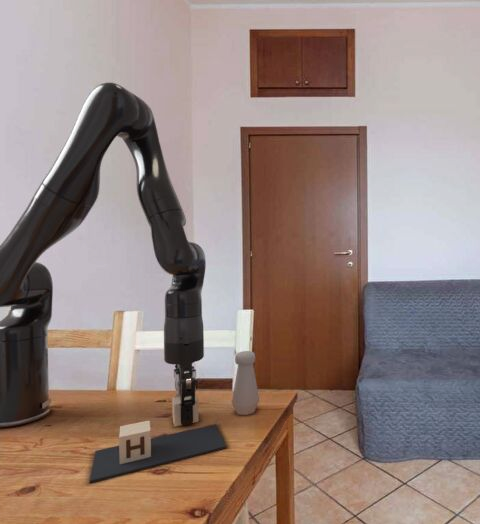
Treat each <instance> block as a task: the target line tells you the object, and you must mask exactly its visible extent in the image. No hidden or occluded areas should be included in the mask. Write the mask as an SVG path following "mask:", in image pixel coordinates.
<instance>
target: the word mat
mask: <svg viewBox="0 0 480 524" xmlns="http://www.w3.org/2000/svg"><path fill="white" fill-rule="evenodd" d="M223 449H227V445H226V442H225V440H224V438H223V435H222V434H221V432H220V430H219V428H218V426H217V423H215V424H210V425H206V426H205V425H204V426H201V427H197V428H192V429H188V430H183V431H179V432H175V433H170V434H165V435H160V436H156V437H151V457H148V458H144V459H140V460H136V461H132V462H128V463H124V464H120V455H119V445H116V446H111V447H107V448H102V449H98V450H97V449H96V450H95V452H94V457H93V461H92V466H91V471H90V475H89V480H88V481H89V482H88V483H89V484H92V483H96V482H99V481H100V482H101V481H103V480H107V479H111V478H115V477H119V476H123V475H127V474H130V473H135V472H139V471H142V470H146V469H151V468H154V467H158V466H162V465H166V464H170V463H173V462H177V461H181V460H185V459H189V458H193V457H198V456H201V455H205V454H209V453H213V452H217V451H220V450H223Z"/></svg>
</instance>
